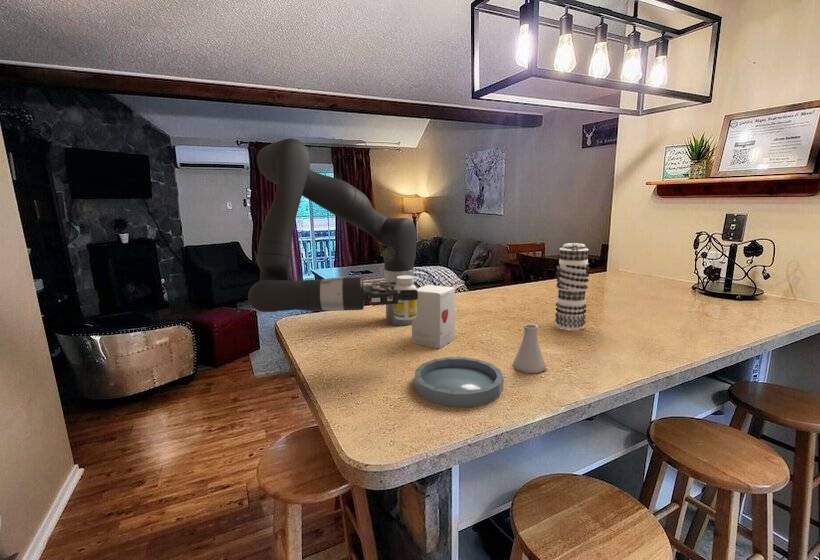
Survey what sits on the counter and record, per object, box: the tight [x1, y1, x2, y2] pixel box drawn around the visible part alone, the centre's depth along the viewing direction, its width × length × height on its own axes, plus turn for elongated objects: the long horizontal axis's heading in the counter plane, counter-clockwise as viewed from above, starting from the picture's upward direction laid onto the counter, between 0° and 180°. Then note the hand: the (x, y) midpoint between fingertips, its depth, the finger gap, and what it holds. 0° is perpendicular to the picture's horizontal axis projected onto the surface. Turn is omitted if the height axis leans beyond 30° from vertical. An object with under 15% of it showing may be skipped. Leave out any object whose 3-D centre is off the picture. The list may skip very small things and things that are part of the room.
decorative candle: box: [554, 242, 591, 331], centre depth 118 cm, size 9×9×25 cm
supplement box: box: [411, 284, 456, 350], centre depth 109 cm, size 9×9×15 cm
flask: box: [512, 323, 547, 374], centre depth 91 cm, size 7×7×10 cm
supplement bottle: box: [394, 275, 417, 320], centre depth 92 cm, size 5×5×10 cm
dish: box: [414, 356, 504, 408], centre depth 83 cm, size 18×18×3 cm
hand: (416, 291), depth 92 cm, fingers closed on supplement bottle, 5 cm apart
